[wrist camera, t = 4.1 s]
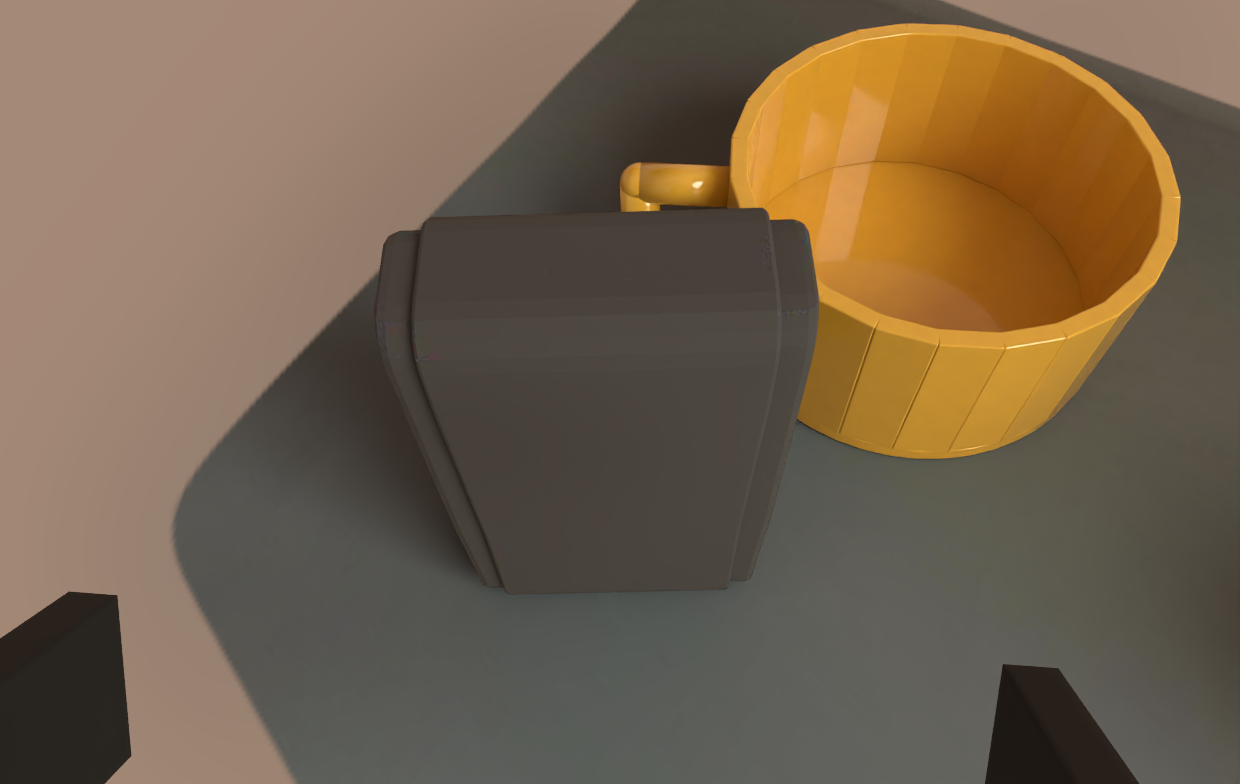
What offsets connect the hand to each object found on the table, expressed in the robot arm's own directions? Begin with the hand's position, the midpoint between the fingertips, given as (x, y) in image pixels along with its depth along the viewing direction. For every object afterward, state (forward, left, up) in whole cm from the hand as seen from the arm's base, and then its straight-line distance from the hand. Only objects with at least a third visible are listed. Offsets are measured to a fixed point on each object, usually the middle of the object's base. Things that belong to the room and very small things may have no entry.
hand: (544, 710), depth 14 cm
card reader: (0, +9, -16) cm, 18 cm away
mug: (+8, +20, -16) cm, 27 cm away
